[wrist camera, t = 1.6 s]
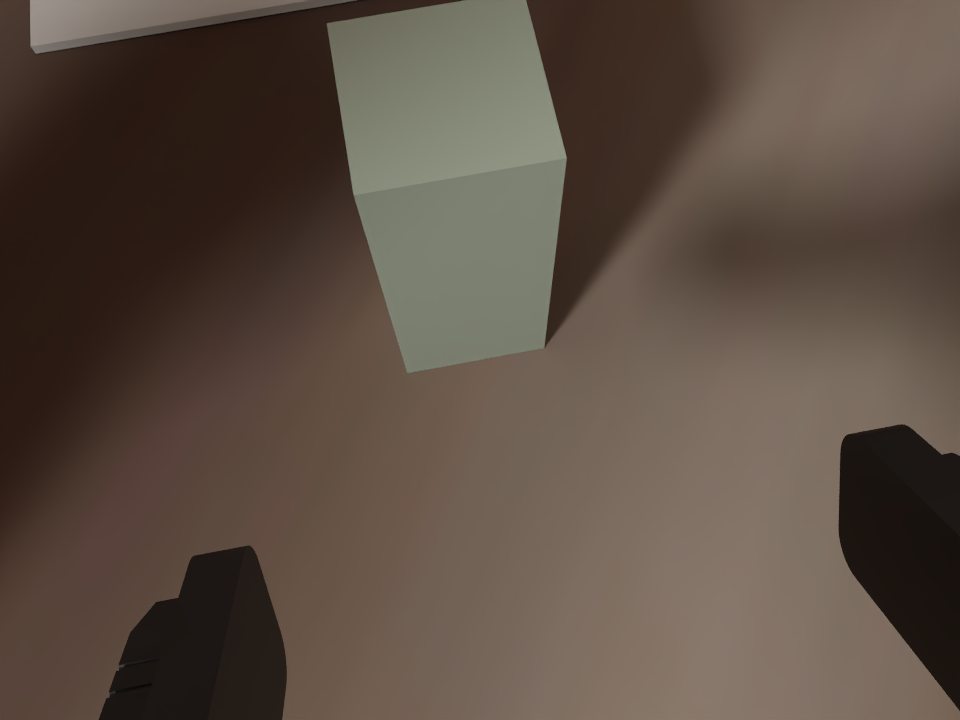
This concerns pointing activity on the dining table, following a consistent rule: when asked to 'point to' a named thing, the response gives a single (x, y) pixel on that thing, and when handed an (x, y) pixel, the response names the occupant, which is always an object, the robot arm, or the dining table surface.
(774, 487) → the dining table surface
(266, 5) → the flat white board
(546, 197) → the sage pillar
